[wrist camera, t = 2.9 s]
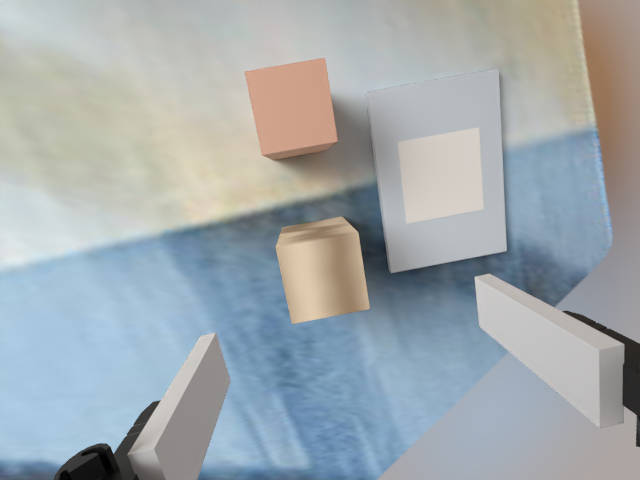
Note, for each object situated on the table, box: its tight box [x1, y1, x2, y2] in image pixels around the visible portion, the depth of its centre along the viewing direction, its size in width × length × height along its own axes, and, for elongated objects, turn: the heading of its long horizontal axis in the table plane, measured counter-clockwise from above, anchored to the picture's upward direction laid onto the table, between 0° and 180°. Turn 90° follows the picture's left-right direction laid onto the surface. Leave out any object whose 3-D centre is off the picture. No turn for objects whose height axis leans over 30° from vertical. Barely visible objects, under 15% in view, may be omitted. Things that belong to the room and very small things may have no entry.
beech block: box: [276, 217, 370, 324], centre depth 32 cm, size 7×7×10 cm
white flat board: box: [365, 68, 507, 273], centre depth 35 cm, size 14×20×1 cm
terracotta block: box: [245, 58, 338, 160], centre depth 28 cm, size 6×6×10 cm
